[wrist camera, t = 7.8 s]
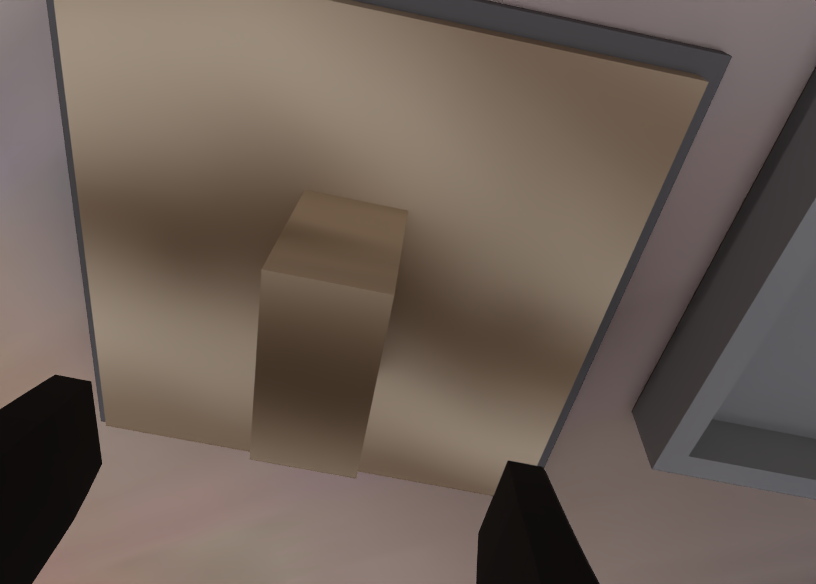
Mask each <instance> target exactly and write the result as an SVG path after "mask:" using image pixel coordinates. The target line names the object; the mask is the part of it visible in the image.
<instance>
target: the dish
mask: <svg viewBox="0 0 816 584" xmlns="http://www.w3.org/2000/svg"><path fill="white" fill-rule="evenodd" d="M632 414H633V416H634V419H635V422H636V425H637V428H638V431H639V434H640V436H641V439H642V442H643V445H644V448H645V451H646V454H647V457H648V459H649V462H650V465H651V468H652V469H653V470H658V471H664V472H669V473H675V474H680V475H685V476H691V477H696V478H702V479H707V480H712V481H718V482H723V483H729V484H734V485H739V486H745V487H750V488H756V489H761V490H766V491H772V492H777V493H783V494H788V495H793V496H799V497H804V498H810V499H815V500H816V68H815V70H814V72H813V74H812V76H811V78H810V80H809V82H808V83H807V85H806V87H805V89H804V91H803V93H802V95H801V97H800V98H799V100H798V102H797V104H796V106H795V108H794V110H793V111H792V113H791V115H790V117H789V119H788V121H787V123H786V125H785V126H784V128H783V130H782V132H781V134H780V136H779V138H778V140H777V141H776V143H775V145H774V147H773V149H772V151H771V153H770V154H769V156H768V158H767V160H766V162H765V164H764V166H763V168H762V169H761V171H760V173H759V175H758V177H757V179H756V181H755V183H754V184H753V186H752V188H751V190H750V192H749V194H748V196H747V197H746V199H745V201H744V203H743V205H742V207H741V209H740V211H739V212H738V214H737V216H736V218H735V220H734V222H733V224H732V226H731V227H730V229H729V231H728V233H727V235H726V237H725V239H724V240H723V242H722V244H721V246H720V248H719V250H718V252H717V254H716V255H715V257H714V259H713V261H712V263H711V265H710V267H709V269H708V270H707V272H706V274H705V276H704V278H703V280H702V282H701V283H700V285H699V287H698V289H697V291H696V293H695V295H694V297H693V298H692V300H691V302H690V304H689V306H688V308H687V310H686V312H685V313H684V315H683V317H682V319H681V321H680V323H679V325H678V327H677V328H676V330H675V332H674V334H673V336H672V338H671V340H670V341H669V343H668V345H667V347H666V349H665V351H664V353H663V355H662V356H661V358H660V360H659V362H658V364H657V366H656V368H655V370H654V371H653V373H652V375H651V377H650V379H649V381H648V383H647V384H646V386H645V388H644V390H643V392H642V394H641V396H640V398H639V399H638V401H637V403H636V405H635V407H634V409H633V411H632Z"/></svg>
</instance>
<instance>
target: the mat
mask: <svg viewBox="0 0 816 584" xmlns="http://www.w3.org/2000/svg"><path fill="white" fill-rule="evenodd" d="M353 1H357V2H362V3H367V4H371V5H376V6H381V7H385V8H390V9H394V10H399V11H404V12H408V13H413V14H418V15H422V16H427V17H432V18H436V19H441V20H446V21H450V22H455V23H460V24H464V25H469V26H474V27H478V28H483V29H488V30H492V31H497V32H502V33H506V34H511V35H516V36H520V37H525V38H530V39H534V40H539V41H543V42H548V43H553V44H557V45H562V46H567V47H571V48H576V49H581V50H585V51H590V52H595V53H599V54H604V55H609V56H613V57H618V58H623V59H627V60H632V61H637V62H641V63H646V64H651V65H655V66H660V67H665V68H669V69H674V70H678V71H683V72H688V73H692V74H697V75H700V76H701V77H703V78H704V79H705V80H707V81H708V82H709V83H708V85H707V87H706V89H705V92H704V94H703V96H702V98H701V100H700V103H699V105H698V107H697V109H696V112H695V114H694V116H693V118H692V121H691V123H690V125H689V127H688V130H687V132H686V134H685V136H684V138H683V141H682V143H681V145H680V147H679V150H678V152H677V154H676V156H675V159H674V161H673V163H672V165H671V168H670V170H669V172H668V174H667V176H666V179H665V181H664V183H663V185H662V188H661V190H660V192H659V194H658V197H657V199H656V201H655V203H654V206H653V208H652V210H651V212H650V214H649V217H648V219H647V221H646V223H645V226H644V228H643V230H642V232H641V235H640V237H639V239H638V241H637V243H636V246H635V248H634V250H633V252H632V255H631V257H630V259H629V261H628V264H627V266H626V268H625V270H624V273H623V275H622V277H621V279H620V281H619V284H618V286H617V288H616V290H615V293H614V295H613V297H612V299H611V302H610V304H609V306H608V308H607V311H606V313H605V315H604V317H603V319H602V322H601V324H600V326H599V328H598V331H597V333H596V335H595V337H594V340H593V342H592V344H591V346H590V349H589V351H588V353H587V355H586V357H585V360H584V362H583V364H582V366H581V369H580V371H579V373H578V375H577V378H576V380H575V382H574V384H573V386H572V389H571V391H570V393H569V395H568V398H567V400H566V402H565V404H564V407H563V409H562V411H561V413H560V416H559V418H558V420H557V422H556V424H555V427H554V429H553V431H552V433H551V436H550V438H549V440H548V442H547V445H546V447H545V449H544V451H543V454H542V456H541V458H540V460H539V462H538V465H537V466H541V467H543V469H544V467H545V465H546V462H547V460H548V458H549V456H550V454H551V451H552V449H553V447H554V445H555V443H556V440H557V438H558V436H559V434H560V432H561V430H562V427H563V425H564V423H565V421H566V419H567V416H568V414H569V412H570V410H571V408H572V405H573V403H574V401H575V399H576V397H577V395H578V392H579V390H580V388H581V386H582V384H583V381H584V379H585V377H586V375H587V373H588V370H589V368H590V366H591V364H592V362H593V360H594V357H595V355H596V353H597V351H598V349H599V346H600V344H601V342H602V340H603V338H604V335H605V333H606V331H607V329H608V327H609V324H610V322H611V320H612V318H613V316H614V314H615V311H616V309H617V307H618V305H619V303H620V300H621V298H622V296H623V294H624V292H625V289H626V287H627V285H628V283H629V281H630V279H631V276H632V274H633V272H634V270H635V268H636V265H637V263H638V261H639V259H640V257H641V254H642V252H643V250H644V248H645V246H646V244H647V241H648V239H649V237H650V235H651V233H652V230H653V228H654V226H655V224H656V222H657V219H658V217H659V215H660V213H661V211H662V209H663V206H664V204H665V202H666V200H667V198H668V195H669V193H670V191H671V189H672V187H673V184H674V182H675V180H676V178H677V176H678V174H679V171H680V169H681V167H682V165H683V163H684V160H685V158H686V156H687V154H688V152H689V149H690V147H691V145H692V143H693V141H694V138H695V136H696V134H697V132H698V130H699V128H700V125H701V123H702V121H703V119H704V117H705V114H706V112H707V110H708V108H709V106H710V103H711V101H712V99H713V97H714V95H715V93H716V90H717V88H718V86H719V84H720V82H721V79H722V77H723V75H724V73H725V71H726V68H727V66H728V64H729V62H730V60H731V58H732V56H730V55H729V54H727V53H725V52H723V51H718V50H714V49H709V48H704V47H700V46H695V45H691V44H686V43H681V42H677V41H672V40H667V39H663V38H658V37H653V36H649V35H644V34H640V33H635V32H630V31H626V30H621V29H616V28H612V27H607V26H603V25H598V24H593V23H589V22H584V21H579V20H575V19H570V18H566V17H561V16H556V15H552V14H547V13H542V12H538V11H533V10H528V9H524V8H519V7H515V6H510V5H505V4H501V3H496V2H491V1H487V0H353ZM46 2H47V10H48V17H49V25H50V33H51V40H52V48H53V56H54V63H55V71H56V79H57V87H58V94H59V102H60V110H61V117H62V125H63V133H64V140H65V148H66V156H67V163H68V171H69V179H70V186H71V194H72V202H73V210H74V217H75V225H76V233H77V240H78V248H79V256H80V263H81V271H82V279H83V286H84V294H85V302H86V309H87V317H88V325H89V333H90V340H91V348H92V356H93V363H94V371H95V379H96V386H97V394H98V402H99V409H100V417H101V421H103V422H106V421H105V413H104V405H103V397H102V389H101V381H100V373H99V364H98V356H97V348H96V340H95V332H94V324H93V316H92V308H91V300H90V292H89V283H88V275H87V267H86V259H85V251H84V243H83V235H82V227H81V219H80V211H79V202H78V194H77V186H76V178H75V170H74V162H73V154H72V146H71V138H70V130H69V121H68V113H67V105H66V97H65V89H64V81H63V73H62V65H61V57H60V49H59V40H58V32H57V24H56V16H55V8H54V0H46Z"/></svg>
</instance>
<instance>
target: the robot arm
mask: <svg viewBox="0 0 816 584" xmlns="http://www.w3.org/2000/svg"><path fill="white" fill-rule="evenodd" d="M101 465H102V459H101V451H100V444H99V436H98V429H97V421H96V414H95V406H94V399H93V392H92V384H91V381H86V380H80V379H75V378H70V377H65V376H59V375H54V376H52V377H51V378H49V379H47V380H46V381H44V382H42V383H41V384H39V385H38V386H36V387H35V388H33V389H31V390H30V391H28V392H27V393H25V394H23V395H22V396H20V397H19V398H17V399H15V400H14V401H12V402H11V403H9V404H8V405H6V406H4V407H3V408H1V409H0V584H32V583H33V581H34V580H35V578H36V577H37V575H38V574H39V572H40V571H41V569H42V568H43V566H44V565H45V563H46V562H47V560H48V559H49V557H50V556H51V554H52V553H53V551H54V550H55V548H56V547H57V545H58V544H59V542H60V541H61V539H62V537H63V536H64V534H65V533H66V531H67V530H68V528H69V527H70V525H71V524H72V522H73V520H74V519H75V517H76V515H77V513H78V511H79V509H80V507H81V505H82V503H83V501H84V499H85V497H86V496H87V494H88V492H89V490H90V487H91V485H92V483H93V481H94V479H95V477H96V475H97V473H98V471H99V469H100V467H101ZM476 584H599V582H598V580H597V578H596V576H595V574H594V572H593V570H592V568H591V566H590V565H589V563H588V561H587V559H586V557H585V555H584V553H583V551H582V549H581V547H580V545H579V543H578V541H577V538H576V536H575V534H574V532H573V530H572V528H571V526H570V524H569V522H568V520H567V518H566V515H565V513H564V511H563V509H562V507H561V505H560V502H559V500H558V498H557V496H556V494H555V491H554V489H553V487H552V485H551V482H550V480H549V478H548V476H547V473H546V472H545V470H544V469H543V467H541V466H535V465H530V464H525V463H519V462H514V461H509V460H508V461H507V464H506V466H505V469H504V471H503V474H502V476H501V478H500V481H499V483H498V486H497V488H496V491H495V493H494V496H493V498H492V501H491V503H490V506H489V508H488V511H487V513H486V516H485V518H484V521H483V523H482V526H481V528H480V531H479V534H478V555H477V581H476Z"/></svg>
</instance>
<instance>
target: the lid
mask: <svg viewBox="0 0 816 584" xmlns="http://www.w3.org/2000/svg"><path fill="white" fill-rule="evenodd" d="M54 8H55V16H56V24H57V32H58V40H59V49H60V57H61V65H62V73H63V81H64V89H65V97H66V105H67V113H68V121H69V130H70V138H71V146H72V154H73V162H74V170H75V178H76V186H77V194H78V202H79V211H80V219H81V227H82V235H83V243H84V251H85V259H86V267H87V275H88V283H89V292H90V300H91V308H92V316H93V324H94V332H95V340H96V348H97V356H98V364H99V373H100V381H101V389H102V397H103V405H104V413H105V421H106V426H111V427H117V428H122V429H128V430H133V431H139V432H144V433H150V434H155V435H161V436H166V437H172V438H177V439H183V440H188V441H194V442H199V443H205V444H210V445H216V446H221V447H227V448H232V449H238V450H243V451H249V452H250V459H251V460H256V461H262V462H267V463H273V464H278V465H284V466H289V467H295V468H300V469H306V470H311V471H317V472H322V473H328V474H334V475H339V476H345V477H350V478H356V477H357V472H358V471H359V472H364V473H370V474H375V475H381V476H386V477H392V478H397V479H403V480H408V481H414V482H419V483H425V484H430V485H436V486H441V487H447V488H452V489H458V490H463V491H469V492H474V493H480V494H485V495H491V496H494V493H495V491H496V488H497V486H498V483H499V481H500V478H501V476H502V474H503V471H504V469H505V466H506V464H507V461H508V460H509V461H514V462H519V463H525V464H530V465H535V466H537V465H538V462H539V460H540V458H541V456H542V454H543V451H544V449H545V447H546V445H547V442H548V440H549V438H550V436H551V433H552V431H553V429H554V427H555V424H556V422H557V420H558V418H559V416H560V413H561V411H562V409H563V407H564V404H565V402H566V400H567V398H568V395H569V393H570V391H571V389H572V386H573V384H574V382H575V380H576V378H577V375H578V373H579V371H580V369H581V366H582V364H583V362H584V360H585V357H586V355H587V353H588V351H589V349H590V346H591V344H592V342H593V340H594V337H595V335H596V333H597V331H598V328H599V326H600V324H601V322H602V319H603V317H604V315H605V313H606V311H607V308H608V306H609V304H610V302H611V299H612V297H613V295H614V293H615V290H616V288H617V286H618V284H619V281H620V279H621V277H622V275H623V273H624V270H625V268H626V266H627V264H628V261H629V259H630V257H631V255H632V252H633V250H634V248H635V246H636V243H637V241H638V239H639V237H640V235H641V232H642V230H643V228H644V226H645V223H646V221H647V219H648V217H649V214H650V212H651V210H652V208H653V206H654V203H655V201H656V199H657V197H658V194H659V192H660V190H661V188H662V185H663V183H664V181H665V179H666V176H667V174H668V172H669V170H670V168H671V165H672V163H673V161H674V159H675V156H676V154H677V152H678V150H679V147H680V145H681V143H682V141H683V138H684V136H685V134H686V132H687V130H688V127H689V125H690V123H691V121H692V118H693V116H694V114H695V112H696V109H697V107H698V105H699V103H700V100H701V98H702V96H703V94H704V92H705V89H706V87H707V85H708V83H709V82H708V81H707V80H705V79H704V78H703V77H701V76H700V75H697V74H692V73H688V72H683V71H678V70H674V69H669V68H665V67H660V66H655V65H651V64H646V63H641V62H637V61H632V60H627V59H623V58H618V57H613V56H609V55H604V54H599V53H595V52H590V51H585V50H581V49H576V48H571V47H567V46H562V45H557V44H553V43H548V42H543V41H539V40H534V39H530V38H525V37H520V36H516V35H511V34H506V33H502V32H497V31H492V30H488V29H483V28H478V27H474V26H469V25H464V24H460V23H455V22H450V21H446V20H441V19H436V18H432V17H427V16H422V15H418V14H413V13H408V12H404V11H399V10H394V9H390V8H385V7H381V6H376V5H371V4H367V3H362V2H357V1H353V0H54Z"/></svg>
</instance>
